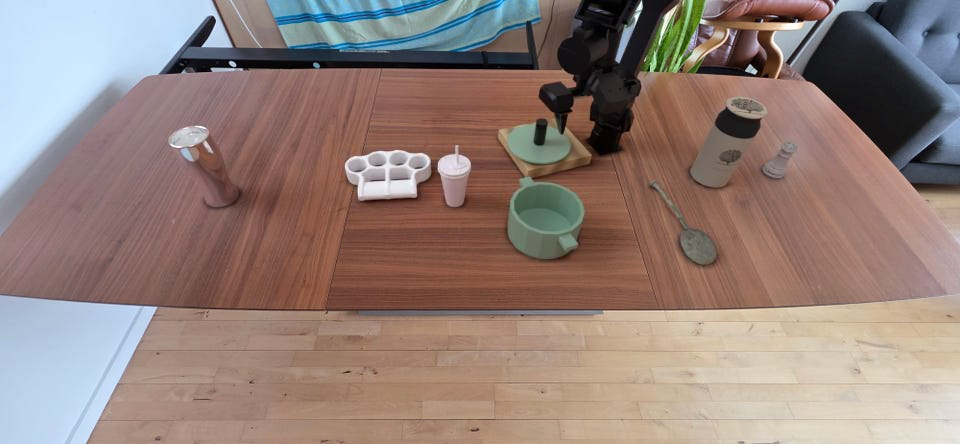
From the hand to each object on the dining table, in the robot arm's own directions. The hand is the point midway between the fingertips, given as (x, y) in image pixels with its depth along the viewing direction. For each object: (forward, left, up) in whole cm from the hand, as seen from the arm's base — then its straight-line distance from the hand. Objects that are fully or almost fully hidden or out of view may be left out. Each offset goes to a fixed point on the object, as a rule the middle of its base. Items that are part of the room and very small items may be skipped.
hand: (581, 129), depth 85 cm
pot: (+13, +12, -13) cm, 22 cm away
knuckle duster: (+37, -13, -13) cm, 41 cm away
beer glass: (+70, -19, -13) cm, 74 cm away
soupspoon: (-14, +19, -13) cm, 27 cm away
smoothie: (+26, -2, -13) cm, 29 cm away
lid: (+3, -10, -10) cm, 14 cm away
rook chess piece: (-45, +14, -13) cm, 49 cm away
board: (+1, -11, -13) cm, 17 cm away
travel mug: (-30, +10, -13) cm, 34 cm away
